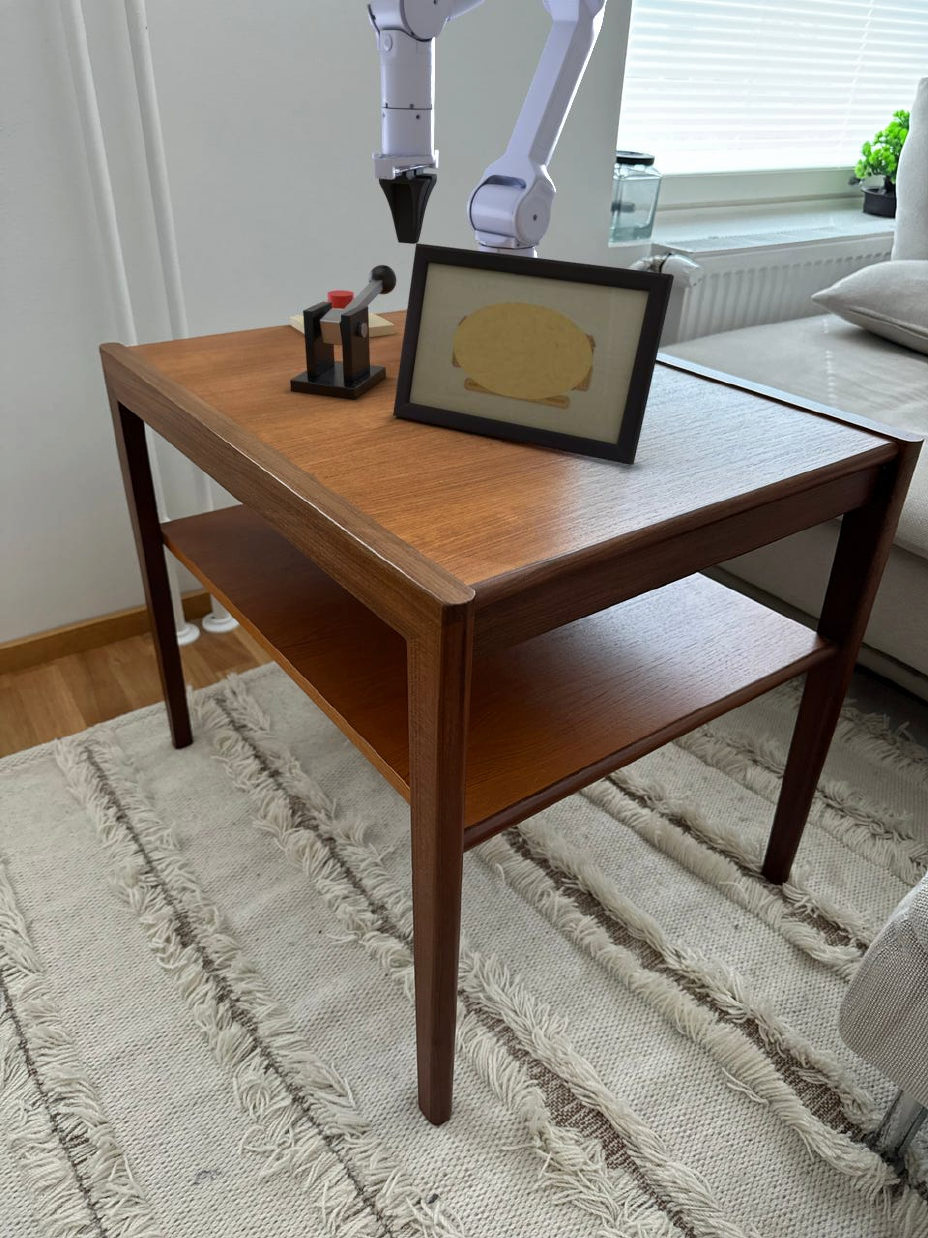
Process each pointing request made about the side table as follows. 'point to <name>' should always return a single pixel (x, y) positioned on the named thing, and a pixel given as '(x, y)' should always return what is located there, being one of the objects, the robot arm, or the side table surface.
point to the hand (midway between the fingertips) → (408, 242)
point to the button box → (376, 324)
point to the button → (340, 298)
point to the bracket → (338, 375)
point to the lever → (357, 302)
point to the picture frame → (531, 349)
